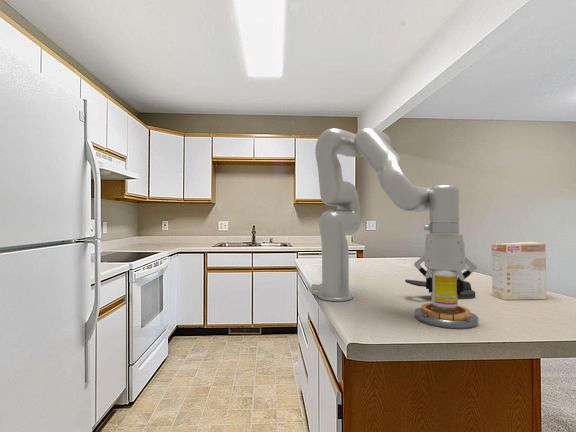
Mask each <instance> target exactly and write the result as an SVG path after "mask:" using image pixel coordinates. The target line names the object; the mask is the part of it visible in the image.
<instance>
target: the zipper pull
mask: <svg viewBox="0 0 576 432" xmlns="http://www.w3.org/2000/svg"><path fill="white" fill-rule="evenodd" d="M404 283H406V284H409V285H413V286H417V287H422V288H423V287H424V288H426V280H425V281H423V280H415V279H408V278H405V280H404ZM475 298H476V291H475V290H472V285H471V283H470V282H469V281H466V280H464V281H463V292H461V295H458V300H472V299H475Z"/></svg>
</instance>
